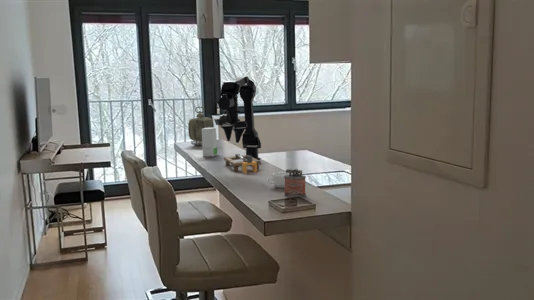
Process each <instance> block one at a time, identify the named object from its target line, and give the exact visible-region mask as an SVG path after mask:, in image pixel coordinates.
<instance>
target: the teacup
mask: <svg viewBox="0 0 534 300" xmlns="http://www.w3.org/2000/svg"><path fill="white" fill-rule="evenodd" d="M271 174H272V175H271V176H268V177H267V182H268V184H270V185H274V186H275V187H276V188H278V189H285V178H284V175H289V173H286V171H275V172H273V173H271ZM292 174H293V173H291V175H292ZM269 179H271V180H272V181H271V182H270V181H269Z"/></svg>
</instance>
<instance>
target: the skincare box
mask: <svg viewBox="0 0 534 300" xmlns="http://www.w3.org/2000/svg"><path fill="white" fill-rule="evenodd" d="M201 130H202V141H201V143H202V144H201V146H202V157H206V158H207V157H215V156H218V142H217V141H218V140H217V127H216V126H214V128H203V129H201Z"/></svg>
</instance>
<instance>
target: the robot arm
mask: <svg viewBox="0 0 534 300" xmlns="http://www.w3.org/2000/svg"><path fill="white" fill-rule="evenodd" d="M219 92H220V93H219V97H220V98H219V99H218V102H217V106H218V108H219V109H220V110H222V111H223V114H221V115H220V114H219V115H218V116H217V117H214V118H213V122H214V123H215V125H216V126H219V127H220V128H221V129H222V130H223V131H224V135H225V138H226V141H228V142H229V141H231V137H232V135H233V134H232V132H234V138H235V143H237V144H238V143H239V142H240V140H241V141H242V148H243V149H245V155H250V156H252V157H253V158H255V159H257V160H260V159H262V158H261V157H259V149H261V148H262V142H261V139H260V136H259V133H258V131H257V130H256V128H255V117H254V99H255V97H256V94H257V86H256V84H255V82H254V81H253V80H251V79H250V77H249V76H247V75H239V76H237V77H236V78H234V79H232V80H224V81H223V82H222V85H221V88H220V91H219ZM238 98H240V99H241V100H242V101H243V111H244V112H243V113H244V120H241V119H240V118H239V113H241V110H240V109H239V105H238V104H239V102H238Z"/></svg>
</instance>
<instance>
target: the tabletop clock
mask: <svg viewBox="0 0 534 300" xmlns="http://www.w3.org/2000/svg"><path fill="white" fill-rule="evenodd" d="M199 108H201V109H203V111H201V110H199V111H197V109H199ZM194 111H195V112H196V113H197V114H196V116H195V118H191V119H189V120H188V123H187V124H188V128H187V129H188V137H189V139H190V140H192V141H195V143H198V142H199V143H198V144H197V145H198V146H199V145H201V146H202V144H201V143H202V130H201V129H203V128H214V127H215V126H214V125H215V124H214V119H212V118H211V117H205V115H204V113H205V108H204V107H203V106H196V107H195V109H194Z"/></svg>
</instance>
